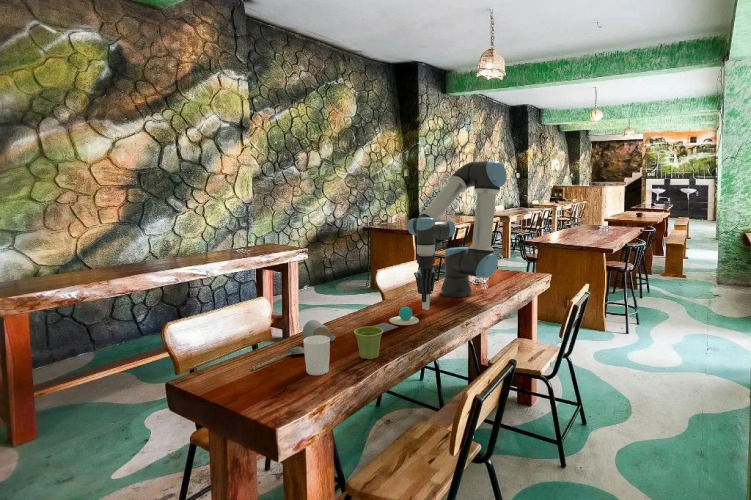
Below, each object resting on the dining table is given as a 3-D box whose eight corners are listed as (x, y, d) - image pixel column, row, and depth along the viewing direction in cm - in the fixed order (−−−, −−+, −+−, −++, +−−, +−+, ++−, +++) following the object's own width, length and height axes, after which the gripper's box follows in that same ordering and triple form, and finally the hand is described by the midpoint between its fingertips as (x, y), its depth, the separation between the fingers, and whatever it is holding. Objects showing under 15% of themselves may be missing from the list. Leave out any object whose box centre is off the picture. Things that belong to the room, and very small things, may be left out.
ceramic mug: (313, 348, 163) (313, 327, 162) (302, 342, 170) (302, 321, 169) (339, 342, 170) (339, 321, 168) (328, 336, 176) (328, 316, 175)
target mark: (402, 314, 202) (402, 314, 202) (425, 320, 194) (425, 319, 194) (383, 320, 193) (383, 320, 193) (405, 327, 185) (405, 326, 185)
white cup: (305, 366, 148) (304, 335, 146) (330, 365, 149) (329, 334, 147) (303, 377, 140) (302, 344, 139) (330, 375, 141) (329, 343, 139)
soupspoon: (314, 355, 160) (302, 352, 165) (314, 346, 160) (301, 342, 164) (259, 373, 144) (247, 369, 148) (258, 363, 144) (246, 358, 148)
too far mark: (383, 323, 191) (383, 322, 191) (398, 327, 185) (398, 326, 185) (369, 327, 185) (369, 327, 185) (384, 332, 179) (384, 331, 179)
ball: (401, 320, 197) (406, 308, 198) (412, 323, 193) (416, 311, 194) (394, 315, 193) (399, 303, 195) (404, 318, 189) (409, 305, 191)
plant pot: (362, 363, 149) (362, 337, 148) (350, 354, 158) (349, 329, 156) (388, 358, 154) (388, 332, 152) (375, 349, 162) (374, 324, 161)
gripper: (428, 251, 207) (428, 304, 210) (408, 255, 197) (409, 310, 201) (442, 253, 201) (442, 307, 205) (422, 257, 192) (423, 313, 196)
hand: (425, 308), depth 203 cm, fingers closed
